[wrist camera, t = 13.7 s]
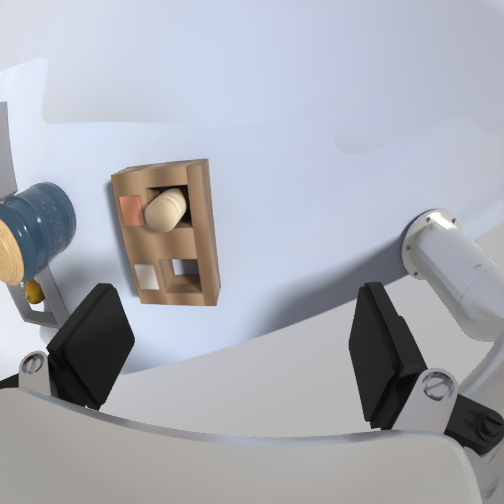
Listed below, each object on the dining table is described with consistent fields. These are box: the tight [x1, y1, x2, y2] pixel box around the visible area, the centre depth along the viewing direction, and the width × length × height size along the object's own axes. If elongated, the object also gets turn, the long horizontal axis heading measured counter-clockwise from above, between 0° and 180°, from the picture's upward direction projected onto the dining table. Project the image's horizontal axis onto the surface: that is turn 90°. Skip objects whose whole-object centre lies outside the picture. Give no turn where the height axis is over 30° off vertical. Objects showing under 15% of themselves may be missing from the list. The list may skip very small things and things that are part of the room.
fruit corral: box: [6, 265, 70, 329], centre depth 47 cm, size 15×14×4 cm
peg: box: [145, 185, 190, 233], centre depth 34 cm, size 4×4×8 cm
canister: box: [0, 182, 76, 286], centre depth 32 cm, size 13×13×18 cm
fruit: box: [22, 279, 45, 304], centre depth 47 cm, size 8×8×4 cm
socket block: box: [111, 159, 221, 306], centre depth 38 cm, size 12×20×5 cm, turn 2°
